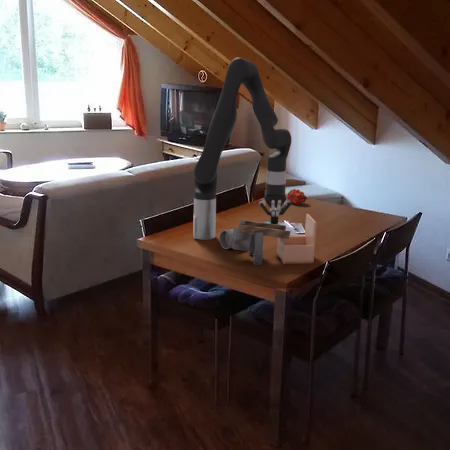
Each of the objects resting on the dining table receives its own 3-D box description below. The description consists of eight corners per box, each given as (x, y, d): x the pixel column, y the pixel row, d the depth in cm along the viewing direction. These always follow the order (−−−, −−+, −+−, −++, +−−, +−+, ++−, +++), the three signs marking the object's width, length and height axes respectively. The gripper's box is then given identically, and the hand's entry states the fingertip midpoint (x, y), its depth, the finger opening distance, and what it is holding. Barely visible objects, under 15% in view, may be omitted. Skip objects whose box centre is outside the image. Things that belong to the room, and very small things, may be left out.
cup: (283, 263, 207) (285, 222, 202) (276, 253, 218) (278, 214, 213) (313, 263, 208) (316, 222, 203) (305, 252, 219) (308, 213, 214)
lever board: (233, 250, 204) (238, 224, 202) (228, 236, 220) (232, 212, 217) (285, 256, 208) (290, 231, 205) (276, 242, 223) (281, 218, 220)
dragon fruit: (286, 203, 299) (305, 211, 293) (280, 197, 292) (299, 204, 286) (293, 190, 301) (312, 197, 294) (288, 183, 294) (307, 190, 287)
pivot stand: (254, 265, 205) (255, 232, 201) (248, 253, 217) (249, 222, 213) (262, 264, 205) (263, 232, 201) (255, 253, 217) (257, 222, 214)
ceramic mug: (246, 247, 223) (246, 229, 221) (229, 251, 219) (230, 232, 216) (230, 241, 231) (230, 223, 229) (214, 244, 227) (214, 226, 225)
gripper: (260, 184, 207) (259, 228, 212) (295, 183, 209) (292, 227, 214) (257, 180, 214) (255, 222, 219) (290, 179, 216) (288, 222, 221)
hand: (274, 225), depth 217 cm, fingers closed
